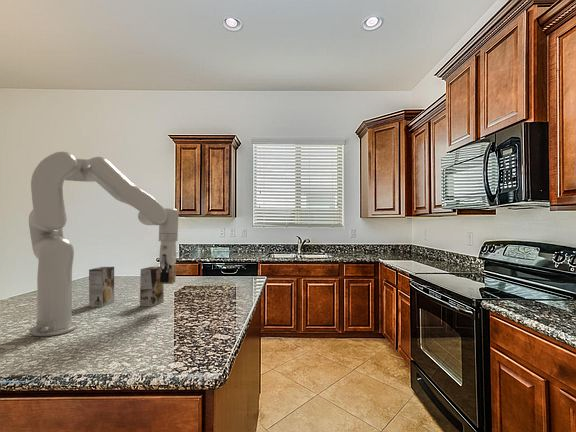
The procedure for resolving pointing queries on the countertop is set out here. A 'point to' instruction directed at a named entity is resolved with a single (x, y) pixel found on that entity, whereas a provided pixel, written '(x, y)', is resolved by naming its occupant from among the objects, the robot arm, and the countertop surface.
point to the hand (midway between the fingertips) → (166, 280)
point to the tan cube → (171, 276)
